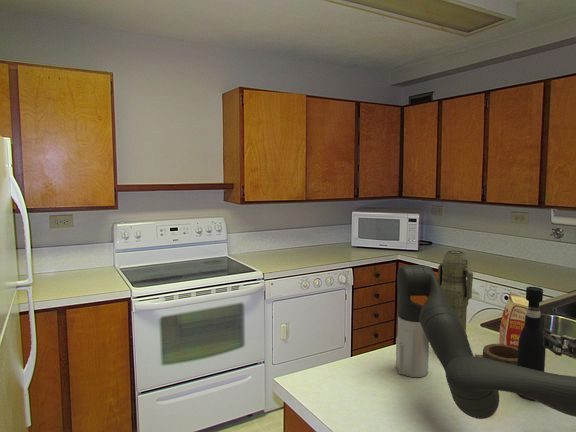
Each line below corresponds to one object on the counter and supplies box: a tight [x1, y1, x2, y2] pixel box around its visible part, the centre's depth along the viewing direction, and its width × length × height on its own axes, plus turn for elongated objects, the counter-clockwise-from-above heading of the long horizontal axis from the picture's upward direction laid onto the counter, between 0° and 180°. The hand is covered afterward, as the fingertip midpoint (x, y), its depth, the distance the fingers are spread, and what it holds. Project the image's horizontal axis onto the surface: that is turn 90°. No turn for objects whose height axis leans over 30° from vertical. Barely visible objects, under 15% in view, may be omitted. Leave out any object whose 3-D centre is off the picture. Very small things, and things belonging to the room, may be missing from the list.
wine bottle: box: [517, 286, 547, 402], centre depth 111 cm, size 6×6×30 cm
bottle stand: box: [474, 343, 518, 365], centre depth 129 cm, size 13×13×5 cm
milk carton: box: [498, 291, 529, 348], centre depth 142 cm, size 9×9×20 cm
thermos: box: [437, 250, 474, 337], centre depth 137 cm, size 9×12×35 cm
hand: (563, 333), depth 99 cm, fingers open, 8 cm apart
